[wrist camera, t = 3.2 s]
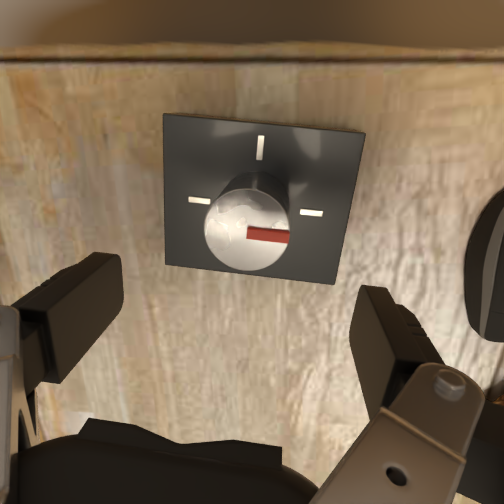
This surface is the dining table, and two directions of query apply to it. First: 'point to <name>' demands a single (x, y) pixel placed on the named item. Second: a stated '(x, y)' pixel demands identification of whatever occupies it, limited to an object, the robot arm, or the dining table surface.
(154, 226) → the dining table surface
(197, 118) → the dial base plate
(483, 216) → the computer mouse
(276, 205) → the silver dial knob
